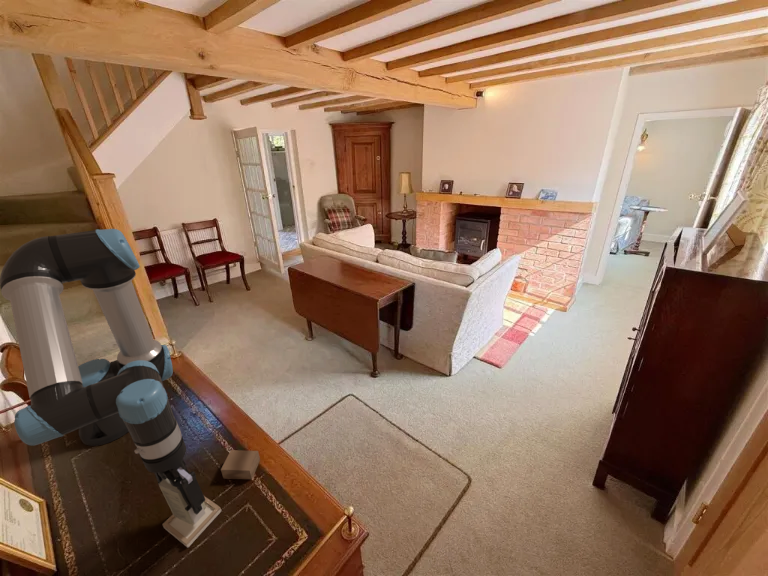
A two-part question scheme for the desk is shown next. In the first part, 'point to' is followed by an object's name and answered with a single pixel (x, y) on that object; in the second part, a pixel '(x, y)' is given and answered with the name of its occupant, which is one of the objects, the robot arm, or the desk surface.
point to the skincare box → (176, 501)
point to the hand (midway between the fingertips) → (189, 510)
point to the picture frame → (191, 532)
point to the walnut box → (240, 464)
